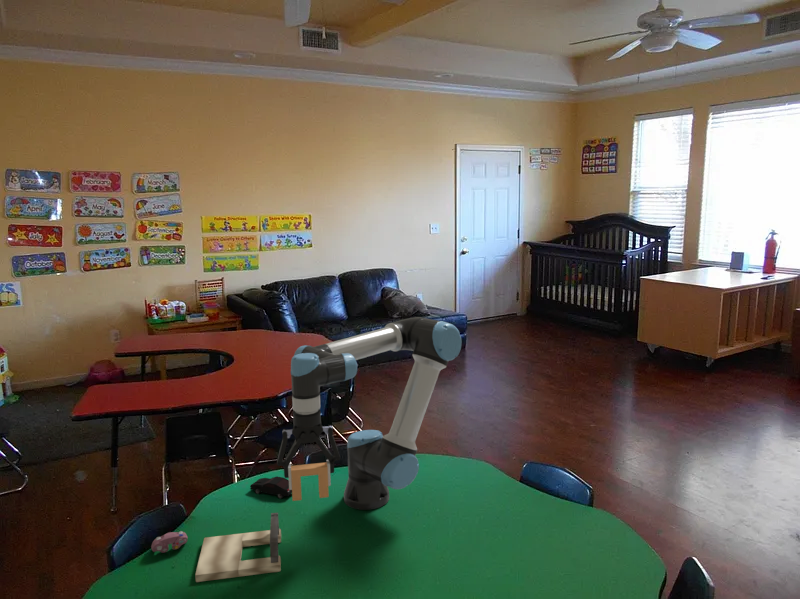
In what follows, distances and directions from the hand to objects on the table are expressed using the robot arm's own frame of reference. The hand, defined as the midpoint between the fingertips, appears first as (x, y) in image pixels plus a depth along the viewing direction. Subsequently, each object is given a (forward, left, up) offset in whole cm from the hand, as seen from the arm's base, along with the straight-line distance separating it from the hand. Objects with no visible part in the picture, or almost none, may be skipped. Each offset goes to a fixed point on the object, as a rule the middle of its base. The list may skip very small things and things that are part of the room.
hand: (309, 485), depth 167 cm
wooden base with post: (+20, -1, -20) cm, 28 cm away
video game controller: (+40, -9, -20) cm, 46 cm away
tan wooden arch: (0, 0, -3) cm, 3 cm away
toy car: (+12, -37, -20) cm, 44 cm away
